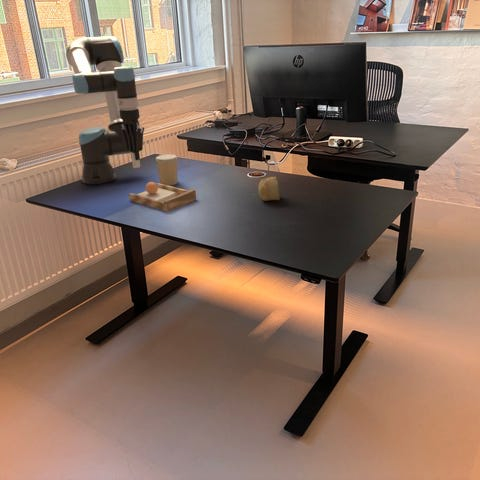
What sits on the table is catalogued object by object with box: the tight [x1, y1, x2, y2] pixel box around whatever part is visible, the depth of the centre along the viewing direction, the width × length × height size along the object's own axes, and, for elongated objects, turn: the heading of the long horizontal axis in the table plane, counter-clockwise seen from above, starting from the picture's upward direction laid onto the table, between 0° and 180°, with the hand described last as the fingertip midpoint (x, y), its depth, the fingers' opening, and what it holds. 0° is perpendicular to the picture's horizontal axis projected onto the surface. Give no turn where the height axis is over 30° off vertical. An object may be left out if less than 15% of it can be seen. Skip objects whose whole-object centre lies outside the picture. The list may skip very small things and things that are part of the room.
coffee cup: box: [155, 153, 178, 186], centre depth 209 cm, size 9×9×12 cm
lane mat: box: [136, 187, 177, 202], centre depth 192 cm, size 20×14×2 cm
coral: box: [257, 176, 281, 202], centre depth 186 cm, size 10×10×10 cm
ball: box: [145, 181, 158, 194], centre depth 193 cm, size 5×5×5 cm
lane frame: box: [128, 182, 197, 213], centre depth 191 cm, size 22×16×4 cm
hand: (136, 167), depth 194 cm, fingers closed
